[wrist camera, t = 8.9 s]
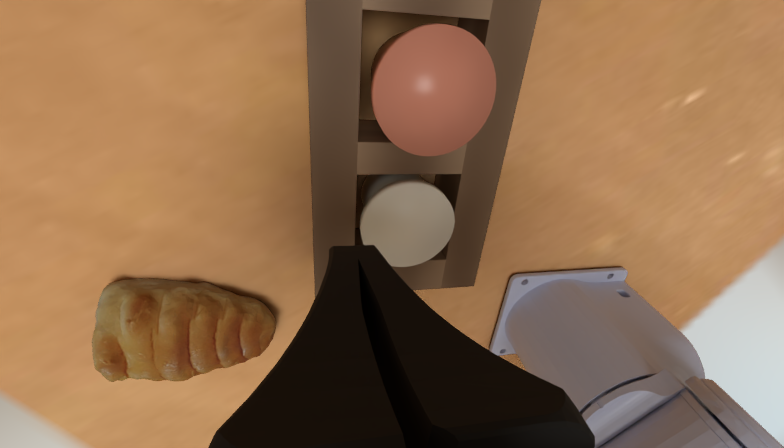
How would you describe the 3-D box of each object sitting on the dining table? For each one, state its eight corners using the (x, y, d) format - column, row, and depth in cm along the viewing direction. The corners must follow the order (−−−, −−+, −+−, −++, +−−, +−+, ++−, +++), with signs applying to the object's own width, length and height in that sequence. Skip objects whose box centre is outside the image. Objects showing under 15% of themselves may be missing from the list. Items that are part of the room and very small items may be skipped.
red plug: (467, 22, 17) (508, 29, 13) (450, 127, 19) (482, 156, 15) (361, 13, 16) (376, 19, 12) (358, 125, 18) (370, 156, 15)
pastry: (278, 273, 24) (274, 318, 20) (275, 349, 27) (271, 398, 24) (102, 270, 21) (66, 320, 18) (122, 354, 24) (95, 409, 21)
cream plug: (436, 153, 21) (462, 183, 18) (426, 225, 23) (447, 264, 20) (353, 153, 20) (362, 185, 17) (351, 228, 22) (359, 269, 19)
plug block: (548, -243, 14) (613, -306, 11) (453, 251, 25) (473, 286, 22) (296, -305, 12) (293, -400, 9) (313, 258, 23) (315, 296, 20)
